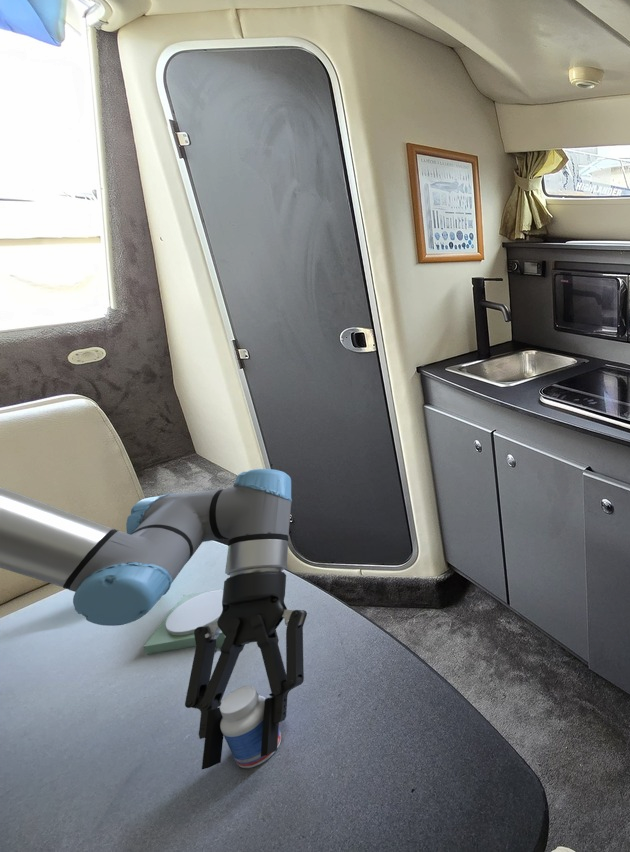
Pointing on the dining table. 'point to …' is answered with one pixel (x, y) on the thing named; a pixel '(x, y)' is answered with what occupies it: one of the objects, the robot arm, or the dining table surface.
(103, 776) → the dining table surface
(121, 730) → the dining table surface
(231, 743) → the pill bottle
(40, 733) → the dining table surface
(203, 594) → the kitchen scale
